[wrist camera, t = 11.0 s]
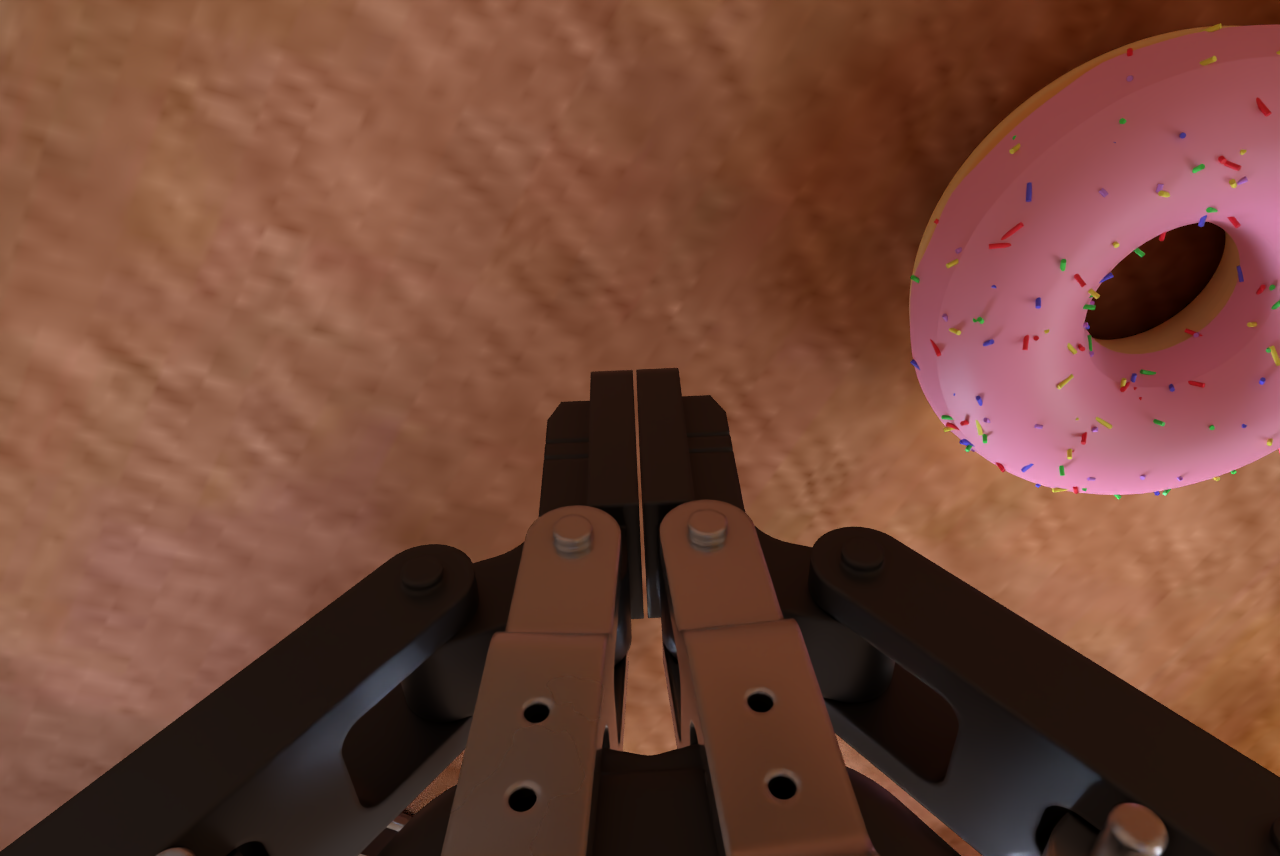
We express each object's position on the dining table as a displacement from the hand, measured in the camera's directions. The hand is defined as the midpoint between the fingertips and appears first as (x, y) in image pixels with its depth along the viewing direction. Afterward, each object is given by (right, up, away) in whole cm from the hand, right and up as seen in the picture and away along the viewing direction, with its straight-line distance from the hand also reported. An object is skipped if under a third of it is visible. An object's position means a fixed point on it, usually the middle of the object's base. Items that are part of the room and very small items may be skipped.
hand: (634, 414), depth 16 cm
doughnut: (+12, +4, +6) cm, 14 cm away
